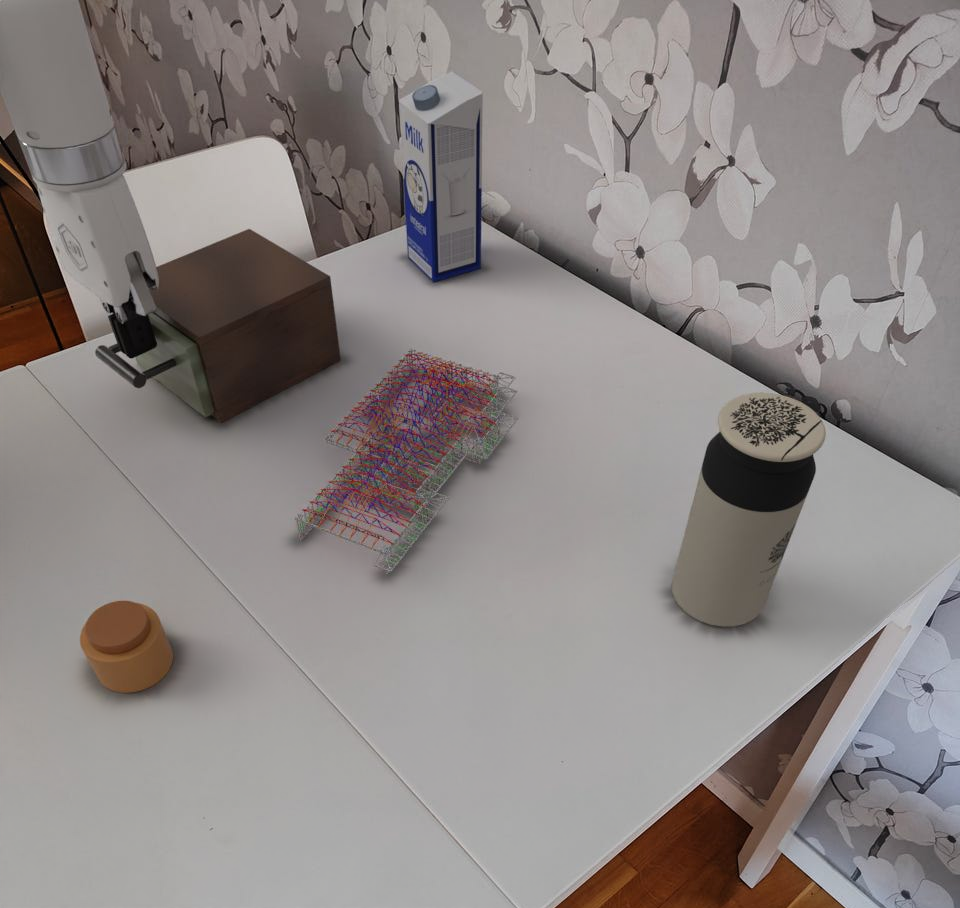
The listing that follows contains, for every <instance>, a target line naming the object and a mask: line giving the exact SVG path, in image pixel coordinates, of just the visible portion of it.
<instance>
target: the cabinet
mask: <svg viewBox="0 0 960 908" xmlns="http://www.w3.org/2000/svg"><path fill="white" fill-rule="evenodd" d="M156 268H157V272H158V277H159V287H158V289H157V290H155V291H154V290H151V289H149V288H148V289H149V291H150V293H151V296H152V298H153V301H154V303H155V306H156V309H157V310H156V311H155V312H154V313H156V314H157V315H159V316H160V317H161V318H163V319H164V320H166V321H167V322H168V323H170V324H171V325H173V326H174V327H175V328H177V329H178V330H180V331H181V332H182V333H184V334H185V335H187V336H188V337H189V338H191V339H192V340H194V341H195V342H196V344H197V346H198V350H199V354H200V358H201V362H202V365H203V369H204V373H205V377H206V380H207V384H208V388H209V392H210V396H211V399H212V403H213V407H214V411H215V413H213V414H211V415H210V416H211V417H213V418H214V419H215V420H216V421H218V422H219V423H224V422H225V421H228V420H229V419H231V418H232V417H235V416H237V415H238V414H241V413H242V412H244V411H246V410H248V409H250V408H252V407H254V406H256V405H258V404H260V403H262V402H264V401H265V400H267V399H270V398H271V397H274V396H275V395H277V394H279V393H281V392H282V391H285V390H287V389H288V388H290V387H292V386H294V385H296V384H298V383H301V382H302V381H304V380H306V379H307V378H309V377H311V376H314V375H316V374H317V373H319V372H322V371H323V370H325V369H326V368H329V367H330V366H332V365H334V364H336V363H338V362H340V361H341V350H340V343H339V335H338V327H337V326H338V325H337V318H336V311H335V301H334V295H333V287H332V279H331V275H329V274H327V273H325V272H324V271H323V270H320V269H319V268H317V267H316V266H314V265H312V264H310V263H308V262H307V261H306V260H304V259H302V258H300V257H298V256H297V255H295V254H293V253H291V252H290V251H288V250H286V249H285V248H283V247H281V246H280V245H278V244H277V243H275V242H273V241H272V240H269V239H268V238H266V237H264V236H262V235H261V234H260V233H257V232H256V231H254V230H253V229H251V228H247V229H245V230H243V231H242V230H241V231H240V232H238V233H235V234H233V235H230V236H228V237H226V238H223V239H221V240H218V241H216V242H214V243H211V244H208V245H206V246H204V247H201V248H198V249H196V250H194V251H192V252H189V253H187V254H185V255H182V256H179V257H177V258H174V259H173V260H170V261H167V262H164V263H163V264H160V265H158V266H156Z"/></svg>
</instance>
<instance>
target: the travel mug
mask: <svg viewBox="0 0 960 908" xmlns="http://www.w3.org/2000/svg"><path fill="white" fill-rule="evenodd" d="M717 426H718V430H719V432H718V433H716V434H715V436H713V437H712V438H711V439H710V440H709V442H708V444H707V446H706V450H705V453H704V456H703V461H702V465H701V468H700V472H699V476H698V480H697V484H696V487H695V491H694V495H693V499H692V502H691V507H690V511H689V515H688V518H687V523H686V526H685V530H684V534H683V537H682V542H681V545H680V549H679V553H678V556H677V557H678V558H677V561H676V564H675V568H674V573H673V576H672V580H671V592H672V595H673V598H674V599H675V602H676V603H677V605H678V606H679V607H680V609H682V610H683V611H684V612H685V613H686V614H687V615H689V616H690V617H691V618H694V619H695V620H698V621H700V622H702V623H705V624H707V625H710V626H711V625H712V626H716V627H717V626H718V627H736V626H737V627H738V626H741V625H744V624H748V623H749V622H751V621H753V620H755V619H756V618H757V617H759V615H760V614H761V613H762V611H763V609H764V608H765V605H766V602H767V599H768V597H769V594H770V592H771V590H772V587H773V585H774V581H775V580H776V576H777V574H778V572H779V569H780V566H781V563H782V562H783V559H784V556H785V554H786V550H787V549H788V546H789V543H790V540H791V537H792V535H793V533H794V530H795V528H796V525H797V522H798V520H799V517H800V515H801V512H802V509H803V507H804V504H805V502H806V499H807V496H808V494H809V491H810V490H811V486H812V484H813V481H814V479H815V475H816V473H817V465H816V460H815V457H814V454H815V453H817V452H818V451H819V450H820V449H821V448H822V446H823V445H824V443H825V440H826V427H825V424H824V422H823V420H822V418H820V416H819V415H818V413H817V412H815V410H814V409H812V408H811V407H809V406H808V405H806V404H805V403H804V402H801V401H799V400H797V399H795V398H792V397H789V396H787V395H782V394H778V393H771V392H752V393H745V394H741V395H738V396H736V397H734V398H732V399H730V400H729V401H728V402H726V403H725V404H723V406H722V407H721V409H720V411H719V413H718V417H717Z"/></svg>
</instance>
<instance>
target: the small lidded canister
mask: <svg viewBox="0 0 960 908" xmlns="http://www.w3.org/2000/svg"><path fill="white" fill-rule="evenodd" d="M79 644H80V647H81V650H82V651H83V654H84V655H85V658H86V659H87V661H88V663H89V665H90V667H91V668H92V670H93V672H94V674H95V676H96V678H97V680H98V681H99V683H100V684H101V685H102V686H103V687H105V688H106V689H107V690H110V691H111V692H116V693H121V694H130V693H136V692H141V691H144V690H147V689H149V688H151V687H153V686H155V685H157V684H158V683H159V682H160V681H162V680H163V678H165V676H166V675H167V674H168V673H169V672H170V670H171V667H172V664H173V661H174V652H173V651H174V650H173V648H172V645H171V644H170V641H169V638H168V636H167V634H166V632H165V629H164V626H163V624H162V621H161V620H160V617H159V614H158V613H157V612H156V611H155V610H154V609H153V608H152V607H149V606H148V605H146V604H143V603H139V602H134V601H132V600H115V601H111V602H108V603H105V604H103V605H102V606H99V607H98V608H97V609H95V610H94V611H93V612H92V613H91V614H90V616H89V617H88V619H87V620H86V621H85V623H84V624H83V627H82V628H81V631H80V635H79Z"/></svg>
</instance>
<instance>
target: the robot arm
mask: <svg viewBox="0 0 960 908" xmlns="http://www.w3.org/2000/svg"><path fill="white" fill-rule="evenodd" d="M96 59H97V58H96V56H95V53H94V49H93V46H92V42H91V38H90V36H89V32H88V28H87V25H86V21H85V18H84V15H83V11H82V8H81V5H80V1H79V0H0V94H1V97H2V100H3V103H4V106H5V108H6V110H7V113H8V116H9V118H10V122H11V124H12V127H13V130H14V132H15V135H16V136H17V140H18V142H19V145H20V148H21V151H22V153H23V156H24V159H25V161H26V163H27V167H28V169H29V172H30V175H31V178H32V180H33V182H34V183H35V184H36V187H37V191H38V196H39V199H40V202H41V206H42V209H43V213H44V216H45V219H46V223H47V225H48V228H49V232H50V235H51V237H52V240H53V243H54V246H55V250H56V252H57V255H58V258H59V261H60V264H61V266H62V268H63V269H64V271H65V272H66V274H67V275H68V276H69V277H71V278H72V279H73V280H74V281H76V282H77V283H78V284H80V285H81V286H82V287H84V288H85V289H87V290H88V291H89V292H91V293H92V294H93V295H95V296H96V297H98V298H99V301H100V302H101V305H102V309H104V311H105V312H106V314H108V315H107V319H108V321H109V323H110V326H111V330H112V332H113V335H114V338H115V340H116V344H118V347H119V350H120V352H121V353H122V354H123V355H125V356H126V357H127V358H129V359H134V358H135V357H137V356H139V355H141V354H143V353H145V352H148V351H150V350H152V349H154V348H156V346H157V342H156V338H155V335H154V332H153V329H152V326H151V322H150V319H149V316H148V314H150V313H153V312H155V311H156V310H157V309H156V306H155V303H154V301H153V298H152V296H151V293H150V291H149V289H151V290H154V291H155V290H157V289H158V287H159V277H158V272H157V268H156V267H157V264H156V261H155V257H154V255H153V251H152V248H151V244H150V241H149V239H148V236H147V233H146V230H145V227H144V224H143V221H142V219H141V216H140V213H139V210H138V208H137V205H136V203H135V200H134V198H133V195H132V192H131V190H130V188H129V185H128V182H127V181H126V178H125V176H124V174H125V172H126V170H127V161H126V158H125V154H124V151H123V148H122V145H121V142H120V138H119V135H118V131H117V128H116V125H115V122H114V118H113V117H114V116H113V114H112V110H111V107H110V104H109V100H108V97H107V94H106V90H105V87H104V84H103V79H102V77H101V73H100V69H99V66H98V62H97V60H96ZM148 288H149V289H148ZM135 359H136V358H135Z"/></svg>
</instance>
